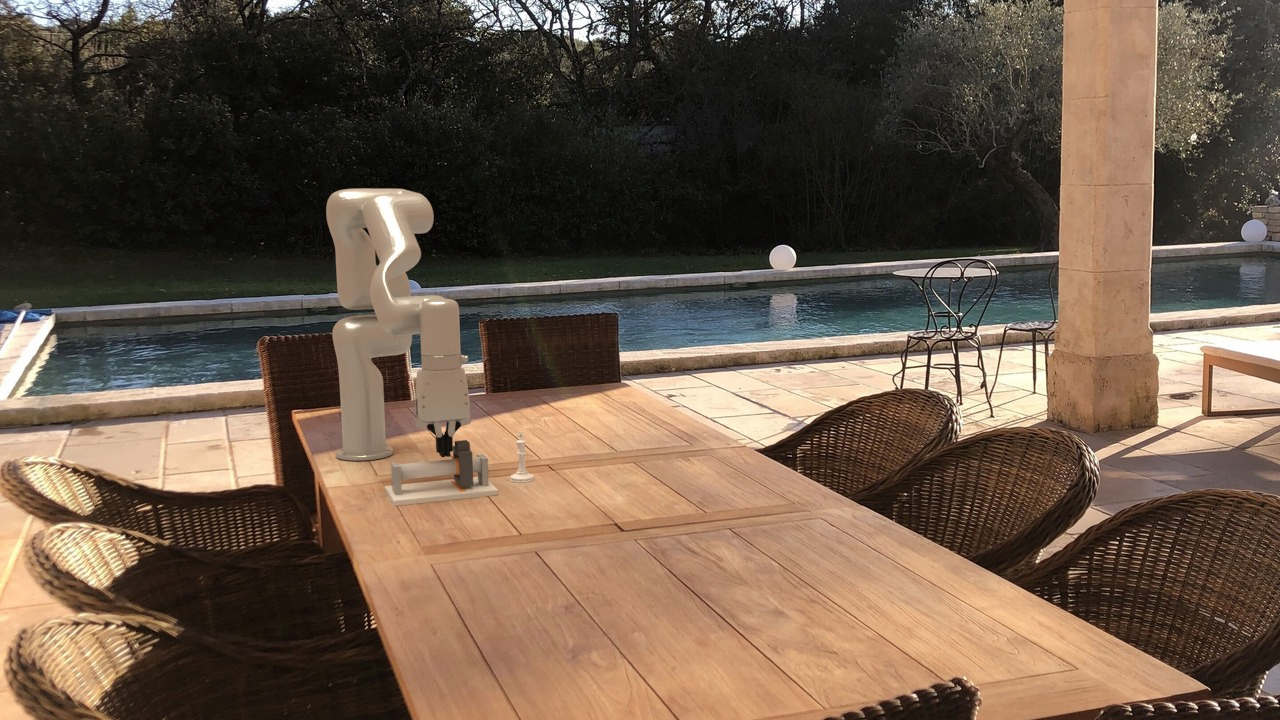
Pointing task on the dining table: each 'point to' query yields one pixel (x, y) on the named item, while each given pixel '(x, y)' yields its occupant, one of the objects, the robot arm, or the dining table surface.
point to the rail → (437, 482)
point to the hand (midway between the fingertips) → (444, 455)
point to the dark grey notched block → (463, 463)
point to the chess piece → (521, 464)
